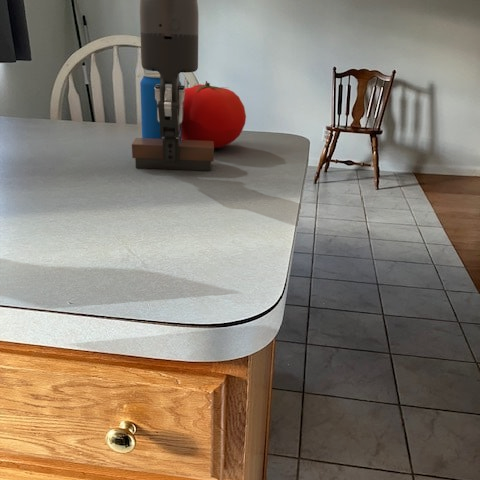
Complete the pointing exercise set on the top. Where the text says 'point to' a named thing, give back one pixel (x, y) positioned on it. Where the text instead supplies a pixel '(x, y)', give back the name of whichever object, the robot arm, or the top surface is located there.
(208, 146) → the scrub brush
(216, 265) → the top surface
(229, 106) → the tomato
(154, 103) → the beverage can
